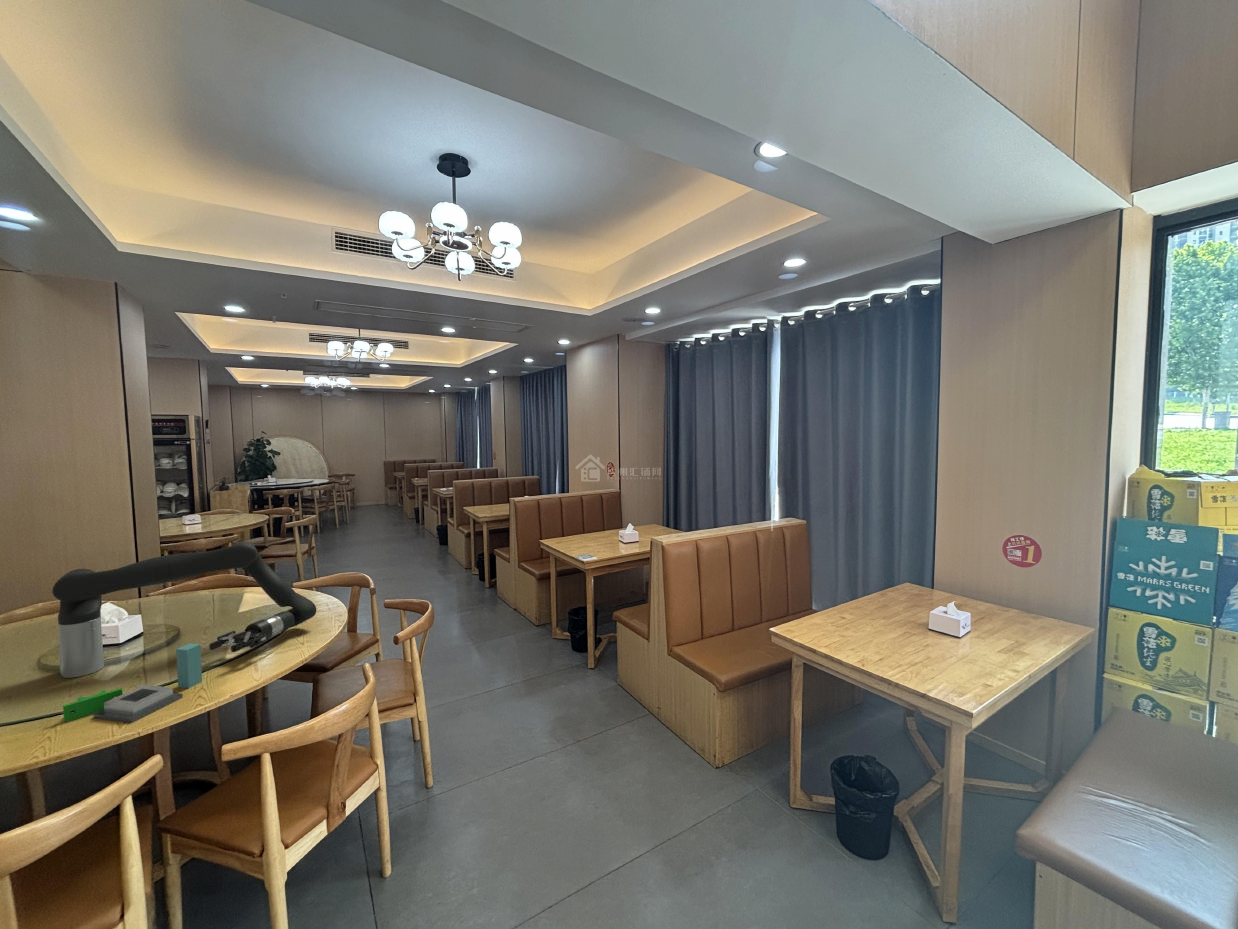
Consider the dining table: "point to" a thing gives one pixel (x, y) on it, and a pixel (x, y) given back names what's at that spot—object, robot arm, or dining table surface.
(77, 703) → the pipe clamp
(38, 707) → the dining table surface
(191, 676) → the teal square peg
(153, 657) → the dining table surface
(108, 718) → the square socket plate
